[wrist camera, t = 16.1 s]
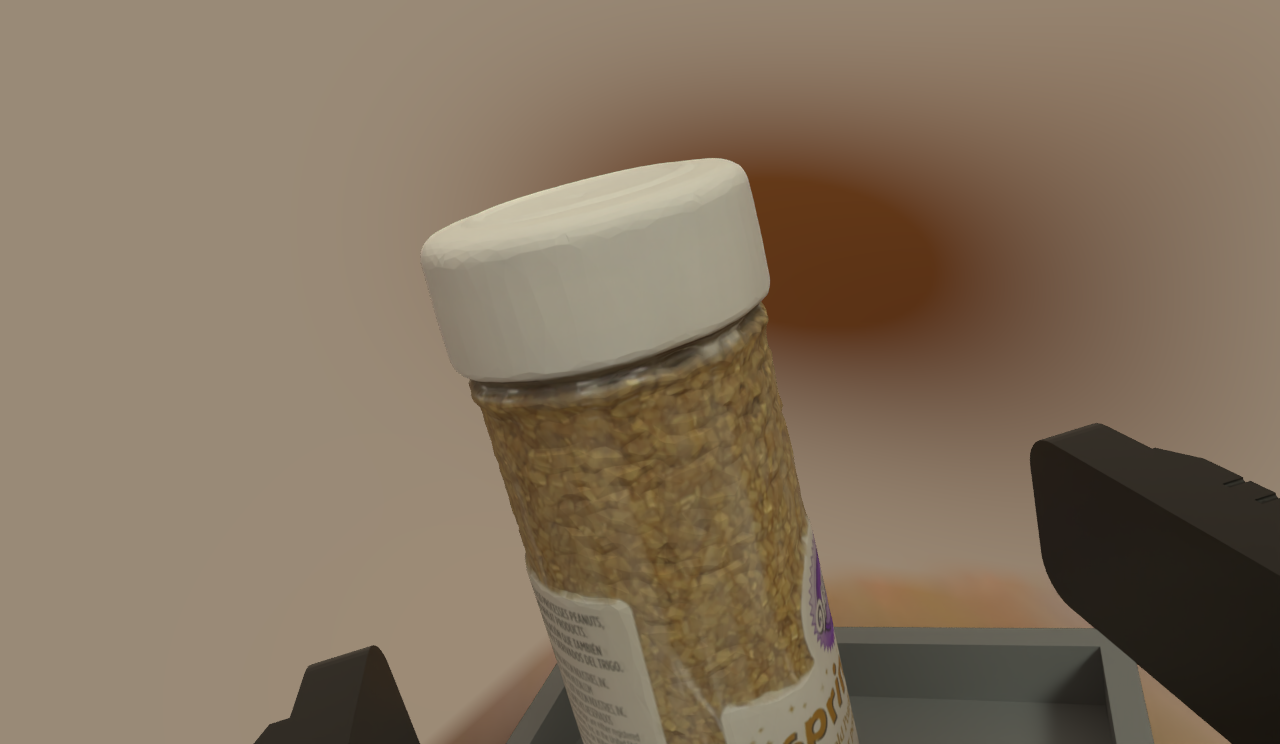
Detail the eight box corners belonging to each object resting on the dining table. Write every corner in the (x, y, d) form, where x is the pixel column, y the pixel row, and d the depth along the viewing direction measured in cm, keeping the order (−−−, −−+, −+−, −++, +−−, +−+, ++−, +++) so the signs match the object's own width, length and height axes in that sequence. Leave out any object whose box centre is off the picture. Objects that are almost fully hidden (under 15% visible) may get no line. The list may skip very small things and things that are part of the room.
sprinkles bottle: (948, 1014, 14) (783, 156, 10) (665, 1096, 14) (382, 262, 10) (850, 798, 18) (709, 140, 14) (635, 860, 18) (430, 213, 14)
